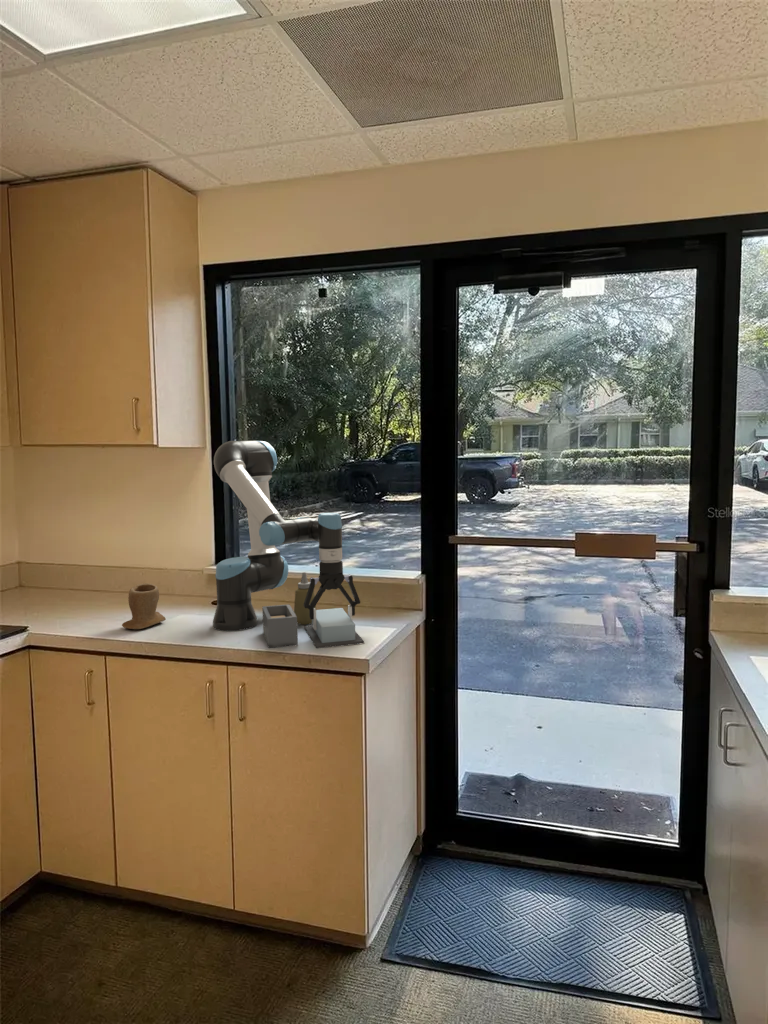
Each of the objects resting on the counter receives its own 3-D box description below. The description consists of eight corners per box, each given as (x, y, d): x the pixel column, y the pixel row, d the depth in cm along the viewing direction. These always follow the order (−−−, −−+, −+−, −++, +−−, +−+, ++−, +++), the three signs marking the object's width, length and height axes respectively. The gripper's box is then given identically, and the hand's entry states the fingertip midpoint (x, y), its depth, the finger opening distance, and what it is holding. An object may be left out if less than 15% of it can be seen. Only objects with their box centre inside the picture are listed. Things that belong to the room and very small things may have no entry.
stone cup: (142, 633, 219) (139, 589, 218) (117, 629, 225) (114, 587, 223) (175, 622, 233) (173, 581, 231) (150, 619, 238) (148, 579, 237)
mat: (304, 628, 222) (304, 626, 222) (347, 624, 226) (347, 622, 226) (316, 648, 199) (316, 645, 199) (364, 643, 203) (363, 641, 203)
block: (311, 624, 220) (311, 610, 219) (342, 621, 223) (342, 607, 222) (322, 643, 201) (321, 627, 201) (355, 639, 204) (355, 624, 203)
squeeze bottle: (297, 627, 223) (296, 575, 222) (291, 621, 231) (289, 571, 229) (320, 624, 227) (318, 573, 225) (313, 619, 234) (311, 569, 232)
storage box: (263, 632, 217) (262, 606, 216) (290, 630, 219) (289, 604, 219) (268, 648, 200) (267, 619, 199) (297, 645, 202) (296, 616, 201)
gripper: (296, 564, 203) (298, 633, 205) (368, 560, 210) (370, 626, 211) (293, 561, 210) (295, 627, 212) (363, 556, 217) (364, 621, 219)
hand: (332, 627), depth 212 cm, fingers open, 11 cm apart
